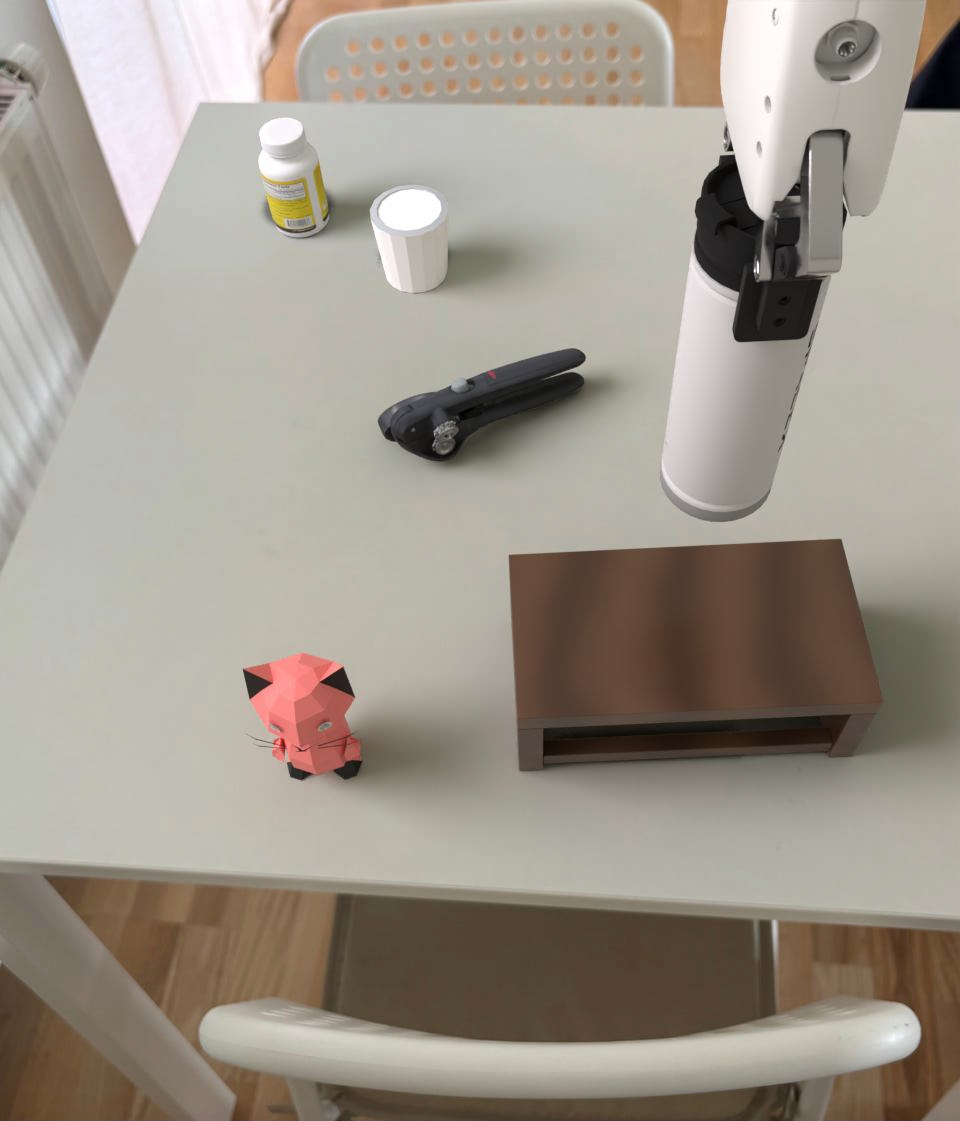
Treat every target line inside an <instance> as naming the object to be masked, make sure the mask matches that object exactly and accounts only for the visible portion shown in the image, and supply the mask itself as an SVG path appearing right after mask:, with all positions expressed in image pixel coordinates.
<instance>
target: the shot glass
mask: <svg viewBox="0 0 960 1121" xmlns="http://www.w3.org/2000/svg"><path fill="white" fill-rule="evenodd" d="M449 208H450V207H449V203H448V200H447V198H446V197H445V196H444V195H443V194H442V193H441V192H440V191H438V190H437V189H434V188H432V187H430V186H426V185H419V184H405V185H397V186H395V187H392V188H390V189H388V190H385V191H383V192H382V193H381V194H379V195H378V196H377V197H376V198H375V199H374V200H373V202H372V204H371V206H370V208H369V215H370V217H369V218H370V222H371V225H372V229H373V233H374V238H375V242H376V245H377V248H378V251H379V255H380V258H381V263H382V266H383V270H384V274H385V277H386V280H387V282H388V283H389V284H390V285H391V287H393V288H394V289H396V290H398V291H400V292H402V293H409V294H419V293H427V292H428V291H431V290H433V289H435V288H437V287H438V286H440V284H442V283H443V282H444V281H445V280H446V276H447V273H448V262H449V261H448V258H449V257H448V255H449V254H448V253H449V218H450V210H449Z"/></svg>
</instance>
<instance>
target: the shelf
mask: <svg viewBox="0 0 960 1121" xmlns="http://www.w3.org/2000/svg"><path fill="white" fill-rule="evenodd" d="M508 574H509V575H508V576H509V578H508V580H509V598H510V599H509V601H510V602H509V603H510V621H511V622H510V623H511V624H510V625H511V642H512V660H513V661H512V662H513V680H514V682H513V684H514V701H515V719H516V720H515V721H516V739H517V740H516V743H517V760H518V771H519V772H523V771H524V772H526V771H527V772H528V771H543V770H544V764H561V763H562V764H563V763H564V764H565V763H585V762H586V763H588V762H607V761H608V762H609V761H610V762H611V761H632V760H653V759H656V760H657V759H676V758H677V759H678V758H697V757H701V758H702V757H720V756H725V757H726V756H743V755H747V756H748V755H769V754H789V753H790V754H791V753H792V754H793V753H814V752H826V754H827V757H828V758H845V757H846V758H847V757H853V755H854V754H855V752H856V751H857V749H858V747H859V745H860V744H861V742H862V740H863V739H864V737H865V735H866V733H867V732H868V730H869V728H870V726H871V724H872V723H873V721H874V720H875V718H876V716H877V715H878V712H879V711H880V709H881V707H882V706H883V704H884V698H883V694H882V689H881V687H880V683H879V679H878V675H877V671H876V667H875V662H874V659H873V654H872V651H871V648H870V644H869V640H868V636H867V631H866V629H865V628H866V627H865V625H864V621H863V617H862V613H861V610H860V605H859V601H858V597H857V594H856V589H855V585H854V582H853V578H852V574H851V570H850V566H849V562H848V559H847V555H846V551H845V547H844V543H843V539H842V538H825V539H806V540H784V541H782V540H781V541H763V542H743V543H741V542H740V543H725V544H720V543H719V544H702V545H701V544H699V545H682V546H681V545H680V546H661V547H658V546H657V547H642V548H641V547H638V548H620V549H599V550H579V551H557V552H556V551H555V552H537V553H535V552H534V553H515V554H508ZM798 717H819V721H820V727H800V728H798V727H797V728H780V729H756V730H755V729H754V730H734V731H732V730H731V731H712V732H711V731H710V732H690V733H689V732H687V733H666V734H664V733H663V734H644V735H642V734H641V735H622V736H621V735H620V736H619V735H618V736H601V737H599V736H598V737H597V736H596V737H579V738H556V739H544V729H553V728H554V729H555V728H575V727H576V728H577V727H596V726H597V727H599V726H619V725H620V726H622V725H640V724H641V725H643V724H661V723H684V722H685V723H687V722H707V721H729V720H730V721H732V720H753V719H754V720H755V719H774V718H776V719H777V718H798Z"/></svg>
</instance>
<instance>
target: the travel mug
mask: <svg viewBox="0 0 960 1121" xmlns="http://www.w3.org/2000/svg"><path fill="white" fill-rule="evenodd" d="M786 196H800V183H796V184H794V186H793V187H792V189H791V190H790V191H789V193H788V194H787V195H786ZM694 215H695V218H696V228H695V232H694V233H695V234H694V236H693V240H692V243H691V254H690V258H689V265H688V270H687V271H688V273H687V277H686V278H687V279H686V286H685V294H684V301H683V308H682V313H681V314H682V315H681V320H680V328H679V336H678V342H677V348H676V356H675V363H674V369H673V376H672V377H673V378H672V384H671V391H670V399H669V405H668V411H667V418H666V419H667V420H666V425H665V433H664V440H663V446H662V447H663V448H662V456H661V459H660V460H661V461H660V468H659V481H660V485H661V488H662V491H663V492H664V495H665V496H666V497H667V498H668V500H669V501H670V502H671V503H672V504H673V505H674V506H675V508H677V509H679V510H680V511H681V512H683V513H685V514H686V515H688V516H690V517H693V518H696V519H698V520H701V521H706V522H711V523H727V522H734V521H737V520H741V519H744V518H746V517H748V516H750V515H753V514H754V513H755V512H756V511H758V510H759V509H760V508H761V507H762V506H763V505H764V504H765V502H766V501H767V499H768V498H769V495H770V494H771V490H772V487H773V484H774V479H775V475H776V472H777V469H778V466H779V462H780V459H781V455H782V452H783V448H784V444H785V441H786V438H787V434H788V430H789V428H790V423H791V420H792V417H793V413H794V409H795V405H796V404H797V403H796V402H797V399H798V395H799V392H800V388H801V385H802V381H803V378H804V374H805V371H806V367H807V364H808V360H809V357H810V353H811V349H812V347H813V342H814V340H815V335H816V331H817V328H818V325H819V322H820V318H821V316H822V315H821V314H822V311H823V308H824V304H825V301H826V297H827V293H828V291H829V288H830V283H831V279H832V274H830V275H828V276H827V277H826V278H825V279H823V280H822V283H821V287H820V291H819V294H818V298H817V302H816V305H815V309H814V312H813V316H812V320H811V323H810V327H809V331H808V333H807V335H806V336H805V337H804V338H802V339H798V340H779V341H759V342H737V341H736V340H735V339H734V336H733V331H732V327H733V322H734V316H735V311H736V306H737V301H738V296H739V291H740V286H741V281H742V276H743V271H744V265H745V264H750V263H754V253H755V241H756V229H757V217H758V216H757V215H756V214H755V213H754V212H753V211H752V210H751V209H750V207H749V205H748V203H747V200H746V196H745V193H744V189H743V185H742V182H741V178H740V174H739V170H738V166H737V162H736V159H733V160H730V161H727V162H725V163H723V164H721V165H717V166H715V167H714V168H712V169H711V170H710V172H708V174H707V175H706V177H705V178H704V180H703V183H702V186H701V192H700V197H698V198H697V200H696V201H695V207H694ZM847 217H848V209H847V206H846V204H845V203H844V201H843V230H844V228H845V225H846V222H847ZM799 236H800V219H784V220H777V231H776V242H775V249H778V248H781V247H786V246H795V244H797V242H798V240H799Z"/></svg>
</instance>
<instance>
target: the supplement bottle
mask: <svg viewBox="0 0 960 1121" xmlns="http://www.w3.org/2000/svg"><path fill="white" fill-rule="evenodd" d="M258 135H259V136H258V137H259V140H260V145H261V148H262V150H261V151H260V152H259V153H260V154H259V155H258V167H259V172H260V176H261V179H262V183H263V184H262V185H263V187H264V191H265V195H266V199H267V203H268V206H269V207H268V208H269V210H270V214H271V217H272V222H273V223H274V226H275V228H276V230H277V231H278V232H280V233H281V234H283V235H285V236H286V237H289V238H290V237H291V238H306V237H310V236H313V235H316V234H317V233H319V232H320V231H322V230H323V229H324V228H325V227H326V226H327V225H328V223H329V220H330V208H329V203H328V199H327V194H326V188H325V184H324V179H323V174H322V170H321V164H320V160H319V159H320V158H319V156H318V152H317V150H316V148H315V146H314V145H313V144H311V143H310V142H309V141H307V134H306V131H305V127H304V124H303V123H302V122H301V121H300V120H298V119H296V118H292V117H277V118H274V119H271V120H269V121H267V122H266V123H264V124H263V125H262V126H261V127H260V129H259V132H258Z"/></svg>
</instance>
